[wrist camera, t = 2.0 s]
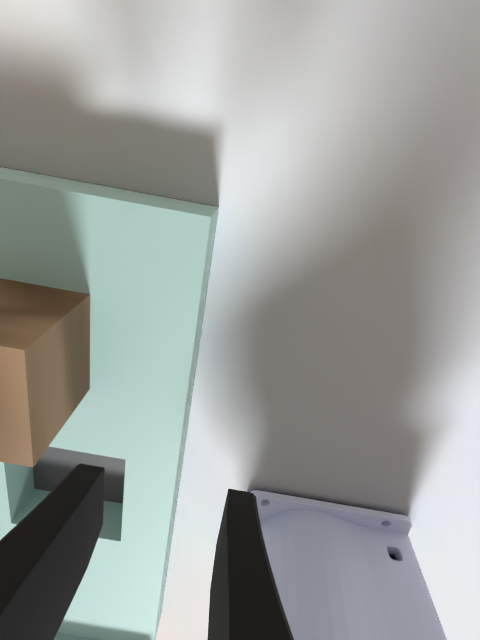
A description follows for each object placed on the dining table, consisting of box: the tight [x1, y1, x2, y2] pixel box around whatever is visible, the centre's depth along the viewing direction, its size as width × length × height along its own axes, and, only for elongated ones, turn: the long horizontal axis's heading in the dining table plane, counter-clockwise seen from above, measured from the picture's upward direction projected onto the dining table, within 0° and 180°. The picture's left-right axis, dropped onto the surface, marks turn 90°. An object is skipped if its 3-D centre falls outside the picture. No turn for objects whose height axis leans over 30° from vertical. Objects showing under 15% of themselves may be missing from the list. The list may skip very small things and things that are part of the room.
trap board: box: [0, 167, 219, 640], centre depth 20 cm, size 16×29×4 cm, turn 170°
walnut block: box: [0, 278, 90, 467], centre depth 14 cm, size 4×4×4 cm
